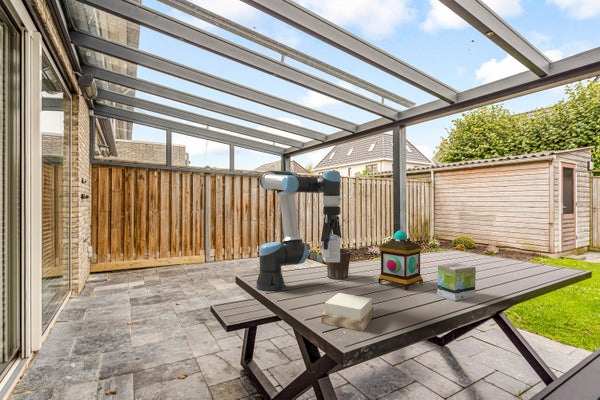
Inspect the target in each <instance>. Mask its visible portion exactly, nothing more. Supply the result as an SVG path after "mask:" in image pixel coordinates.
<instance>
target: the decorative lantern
mask: <svg viewBox="0 0 600 400" xmlns="http://www.w3.org/2000/svg"><path fill="white" fill-rule="evenodd" d="M378 249H379V250H380V274H379V276H378V278H377V279H378V280H377V281H378V282H377V283H378V285H382V282H383V281H385V282H389V283H392V284H393V283H394V284H397V285H402V286H404V290H405V291H406V292H407V291H408V290H409V286H411V285H413V284H415V283H418V282H419V285H420V286H423V284H424V279H423V276H422V274H421V252H422V250H423V247H422V246H421V245H420V244H418V243H415V242H413V241H412V240H411V239H410V238H408V235H407V233H406V232H405V231H403V230H398V231H396V232H395V233H394V234H393V238H391V240H388V242H385V243H382V244H381V245H380V246H379V247H378Z"/></svg>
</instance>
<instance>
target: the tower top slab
mask: <svg viewBox="0 0 600 400" xmlns="http://www.w3.org/2000/svg"><path fill="white" fill-rule="evenodd" d="M372 303H373V302H372V298H371V297H365V296H358V295H353V294H348V293H341V292H338V293H336V294H335V295H334V296H332V297H331V298H330V299H328V300H326V301H325V302H324V311H325V313H326V314H331V315H335V316H340V317H345V318H350V319H354V320H359V321H361V320H362V318H363V317H364V316H365V315H366V314H367V313H368V312H369V311H370V310H371V309H372V307H373V306H372V305H373V304H372Z"/></svg>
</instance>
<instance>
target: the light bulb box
mask: <svg viewBox="0 0 600 400" xmlns="http://www.w3.org/2000/svg"><path fill="white" fill-rule="evenodd" d="M329 242H330V257H323V242H322V241H321V259H322V260H323V262H324V263H327V262H340V249H341V238H340V237H339V236H337V235H333V234H330V239H329Z"/></svg>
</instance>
